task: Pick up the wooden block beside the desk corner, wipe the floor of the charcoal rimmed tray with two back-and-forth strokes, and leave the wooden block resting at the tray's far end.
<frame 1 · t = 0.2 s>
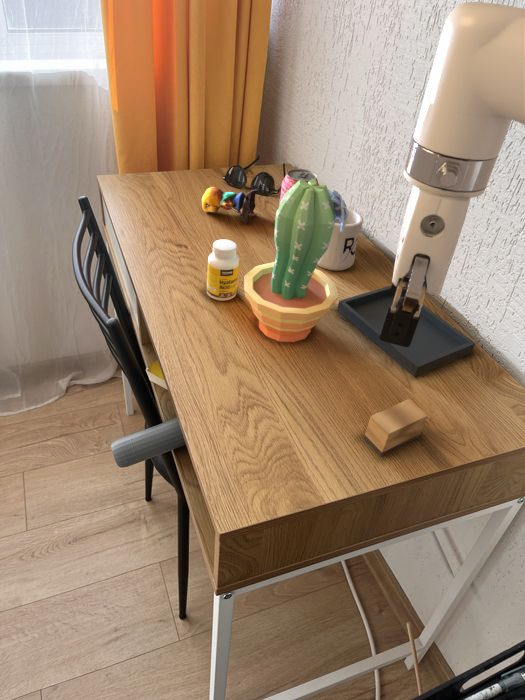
hand: (398, 317, 59), 20 cm above the table, tool pointing down, fingers open, 9 cm apart
wooden block: (390, 438, 71), on the table
beverage can: (294, 227, 118), on the table
supplement bottle: (221, 294, 95), on the table
tray: (402, 331, 91), on the table
potted cactus: (284, 326, 89), on the table
mug: (335, 258, 109), on the table
figurine: (230, 216, 120), on the table
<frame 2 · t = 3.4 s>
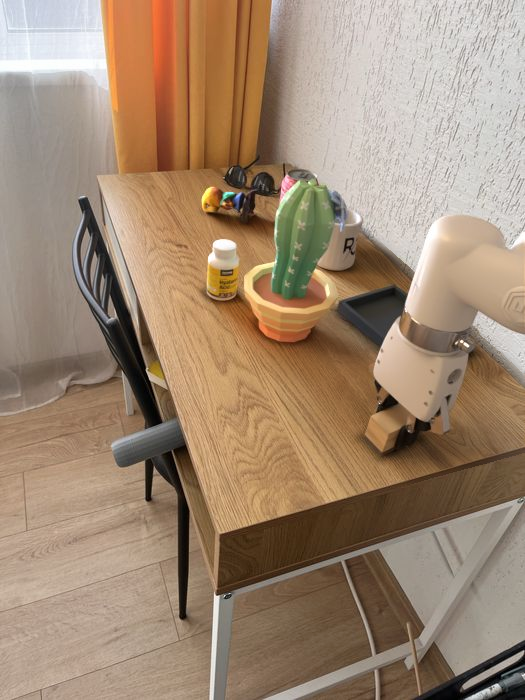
hand: (392, 433, 71), 1 cm above the table, tool pointing down, fingers closed on wooden block, 3 cm apart
wooden block: (390, 438, 71), on the table, touching gripper
everything else where it was.
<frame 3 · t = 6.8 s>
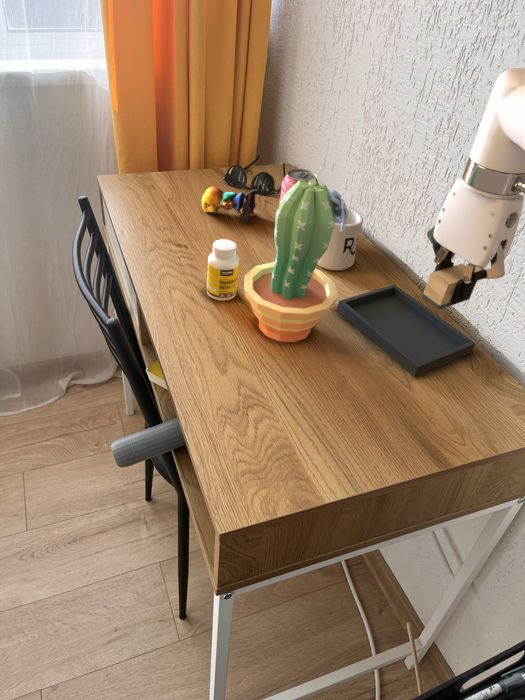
hand: (448, 293, 80), 12 cm above the table, tool pointing down, fingers closed on wooden block, 3 cm apart
wooden block: (445, 298, 81), point 10 cm above the table, touching gripper
everything else where it was.
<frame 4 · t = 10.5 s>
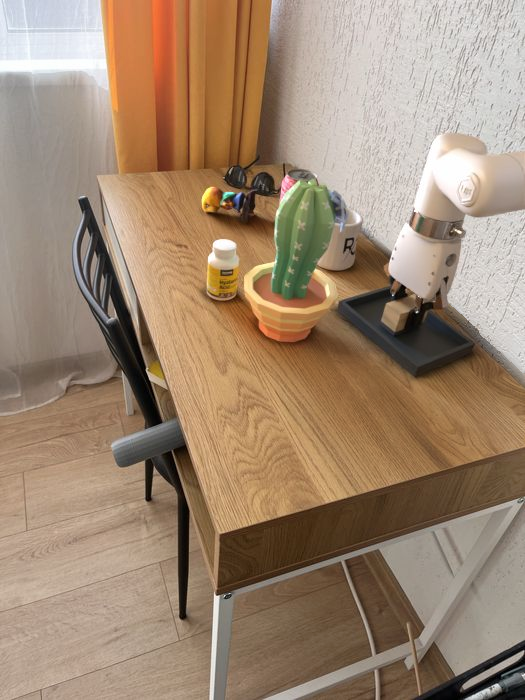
hand: (403, 320, 90), 2 cm above the table, tool pointing down, fingers closed on wooden block, 3 cm apart
wooden block: (401, 325, 91), point 1 cm above the table, touching gripper
everything else where it was.
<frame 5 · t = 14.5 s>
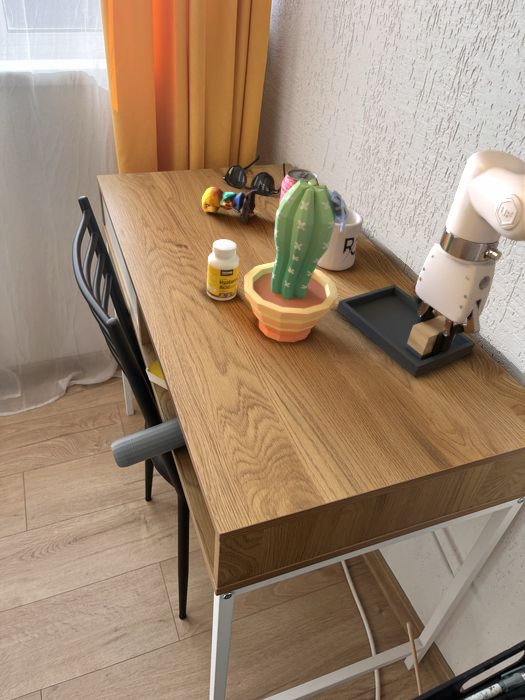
hand: (430, 342, 86), 2 cm above the table, tool pointing down, fingers closed on wooden block, 3 cm apart
wooden block: (428, 347, 87), point 1 cm above the table, touching gripper
everything else where it was.
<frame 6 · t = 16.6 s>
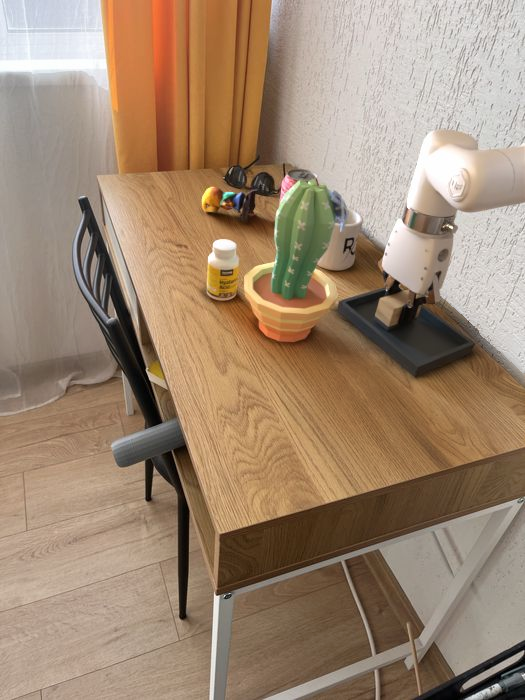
hand: (396, 315, 91), 2 cm above the table, tool pointing down, fingers closed on wooden block, 3 cm apart
wooden block: (395, 320, 92), point 1 cm above the table, touching gripper
everything else where it was.
when the fingers open (2 cm above the table, at t = 18.0 s): wooden block stays where it is, resting on tray.
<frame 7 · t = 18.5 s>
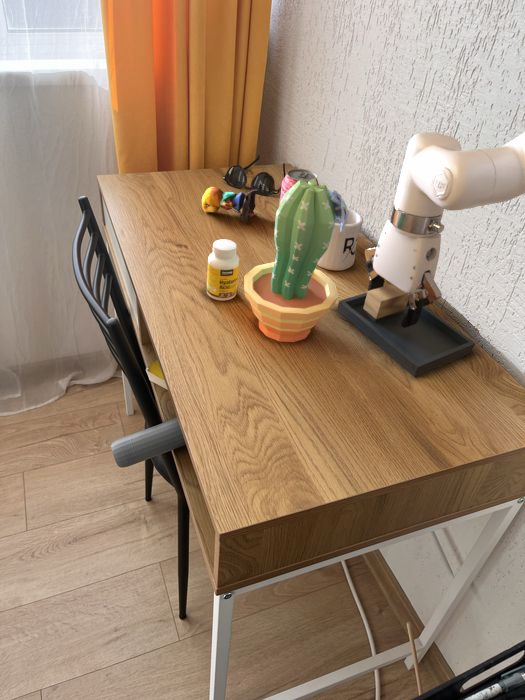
hand: (390, 311, 92), 2 cm above the table, tool pointing down, fingers open, 8 cm apart
wooden block: (383, 312, 94), point 1 cm above the table, touching tray
everything else where it was.
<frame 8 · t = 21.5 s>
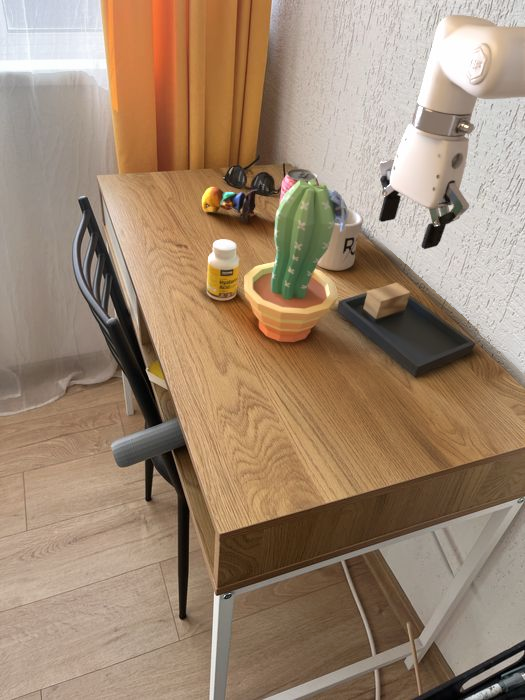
hand: (407, 232, 84), 16 cm above the table, tool pointing down, fingers open, 9 cm apart
nothing on the table moved.
at the end: wooden block inside the target area in the tray (0.2 cm from its centre), point 0.6 cm above the tray's base; wooden block tilted 0°; the gripper is holding nothing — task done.
